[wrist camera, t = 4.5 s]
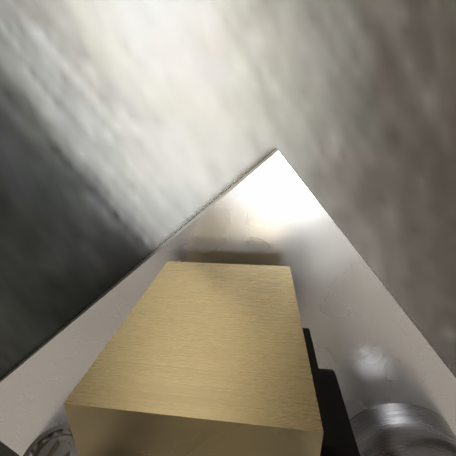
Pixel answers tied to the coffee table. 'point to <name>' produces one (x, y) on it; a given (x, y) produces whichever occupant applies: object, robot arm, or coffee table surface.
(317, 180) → the coffee table surface
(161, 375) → the wooden rectangular block
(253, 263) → the levelling base
